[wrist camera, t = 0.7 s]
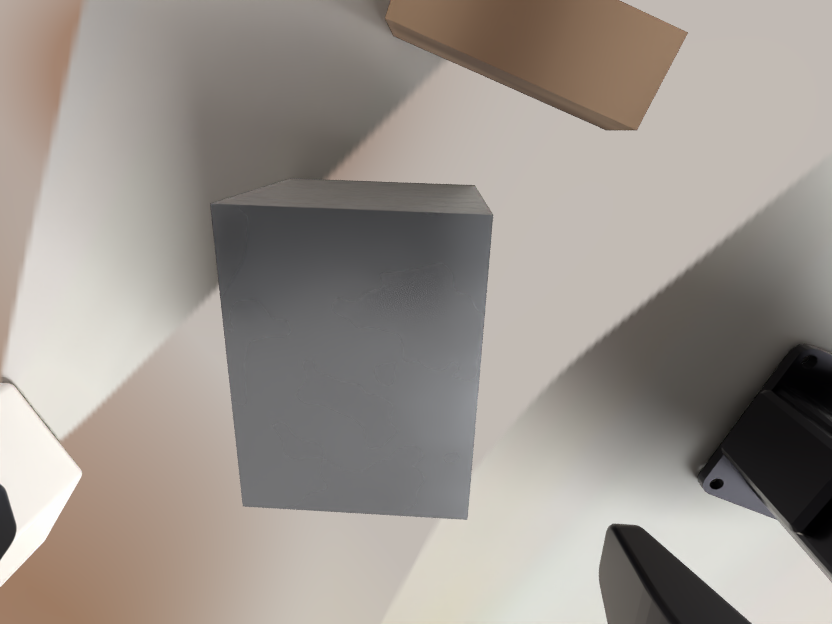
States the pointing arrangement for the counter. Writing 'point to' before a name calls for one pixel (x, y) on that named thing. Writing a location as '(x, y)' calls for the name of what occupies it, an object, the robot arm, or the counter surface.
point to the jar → (31, 476)
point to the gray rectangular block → (354, 342)
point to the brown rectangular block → (551, 50)
